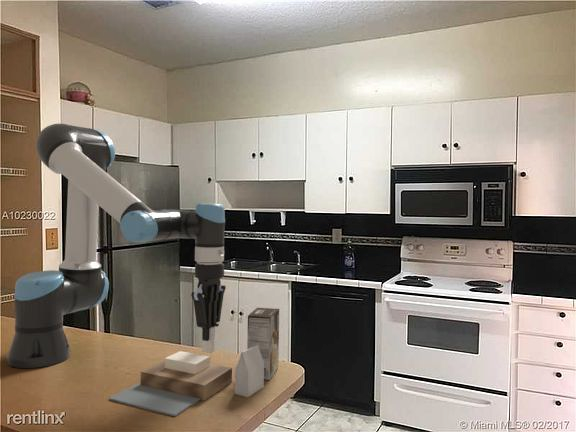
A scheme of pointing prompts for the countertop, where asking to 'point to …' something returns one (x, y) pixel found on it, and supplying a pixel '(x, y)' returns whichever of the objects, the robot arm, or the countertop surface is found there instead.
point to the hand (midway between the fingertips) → (208, 351)
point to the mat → (155, 399)
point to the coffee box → (265, 337)
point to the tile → (187, 362)
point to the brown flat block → (187, 380)
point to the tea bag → (249, 372)
